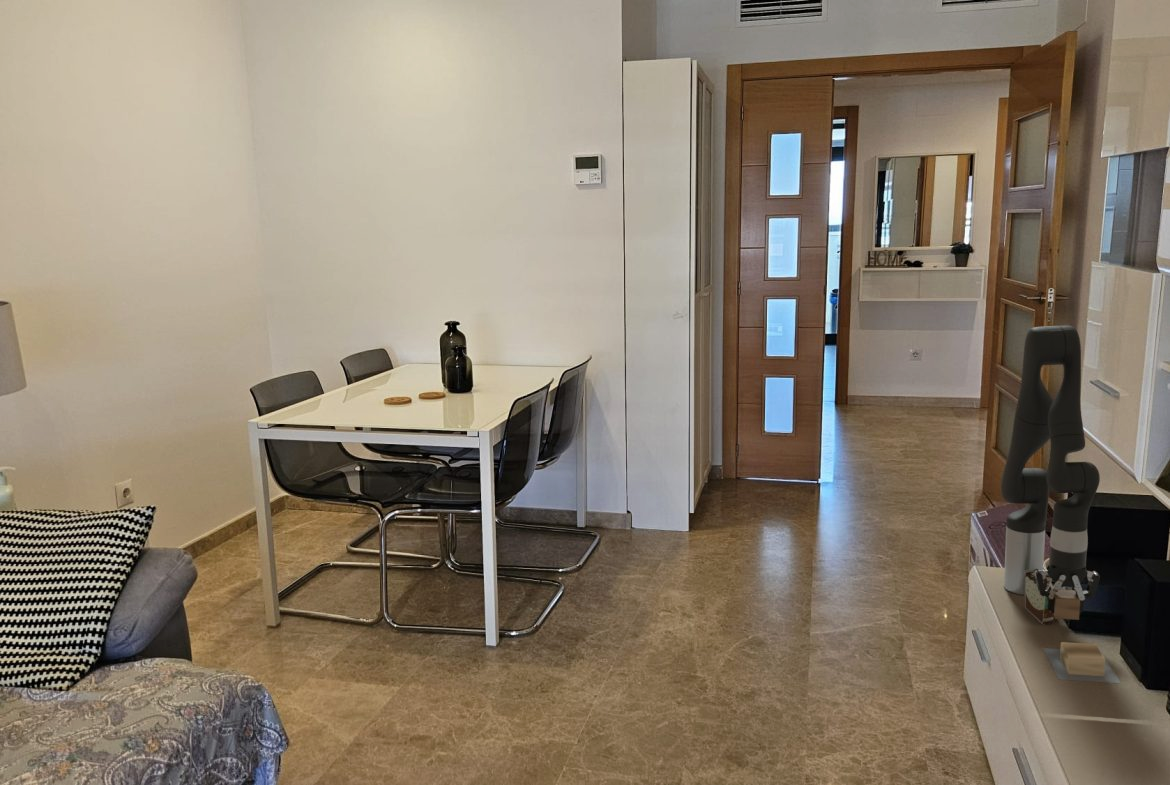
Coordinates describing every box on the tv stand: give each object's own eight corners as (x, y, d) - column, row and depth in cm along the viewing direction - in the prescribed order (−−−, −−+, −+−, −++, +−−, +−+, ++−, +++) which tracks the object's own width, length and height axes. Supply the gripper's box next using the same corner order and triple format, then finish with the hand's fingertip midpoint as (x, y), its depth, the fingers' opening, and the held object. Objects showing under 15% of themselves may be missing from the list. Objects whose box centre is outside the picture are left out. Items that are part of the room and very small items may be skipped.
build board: (1042, 650, 206) (1042, 648, 206) (1100, 653, 203) (1100, 651, 203) (1058, 681, 193) (1058, 679, 193) (1120, 685, 190) (1121, 683, 190)
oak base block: (1060, 658, 201) (1060, 642, 200) (1094, 660, 199) (1095, 643, 199) (1068, 674, 194) (1069, 657, 194) (1104, 676, 193) (1105, 659, 192)
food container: (1071, 626, 217) (1073, 587, 215) (1045, 627, 217) (1047, 588, 215) (1046, 604, 229) (1048, 567, 227) (1022, 605, 229) (1023, 568, 227)
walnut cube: (1049, 608, 213) (1051, 589, 212) (1072, 609, 212) (1074, 590, 211) (1055, 618, 209) (1056, 598, 208) (1078, 619, 208) (1080, 599, 206)
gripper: (1097, 539, 208) (1093, 606, 212) (1030, 537, 212) (1027, 603, 216) (1108, 552, 201) (1102, 621, 205) (1038, 550, 205) (1034, 618, 209)
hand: (1064, 612), depth 210 cm, fingers closed on walnut cube, 5 cm apart
